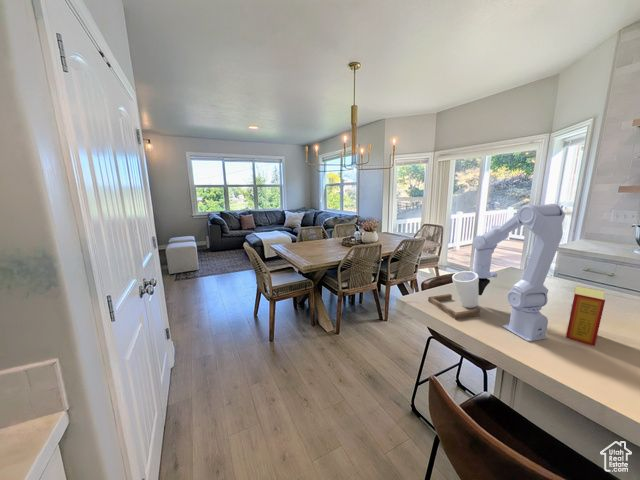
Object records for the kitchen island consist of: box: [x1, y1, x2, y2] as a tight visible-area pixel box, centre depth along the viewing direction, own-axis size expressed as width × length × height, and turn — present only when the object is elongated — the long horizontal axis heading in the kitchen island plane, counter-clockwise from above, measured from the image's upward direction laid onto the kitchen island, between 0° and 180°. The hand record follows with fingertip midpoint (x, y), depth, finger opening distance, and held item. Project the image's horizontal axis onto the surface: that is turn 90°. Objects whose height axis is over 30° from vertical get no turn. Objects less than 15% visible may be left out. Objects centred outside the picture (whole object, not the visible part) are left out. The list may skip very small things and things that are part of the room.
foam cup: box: [451, 270, 479, 308], centre depth 106 cm, size 10×9×13 cm
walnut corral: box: [427, 293, 481, 320], centre depth 105 cm, size 16×11×2 cm
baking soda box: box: [565, 285, 606, 347], centre depth 83 cm, size 10×6×16 cm
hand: (478, 294), depth 107 cm, fingers closed
